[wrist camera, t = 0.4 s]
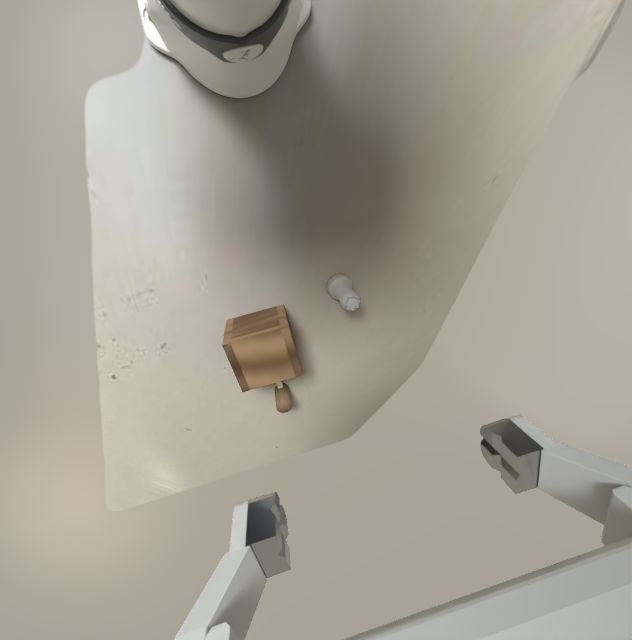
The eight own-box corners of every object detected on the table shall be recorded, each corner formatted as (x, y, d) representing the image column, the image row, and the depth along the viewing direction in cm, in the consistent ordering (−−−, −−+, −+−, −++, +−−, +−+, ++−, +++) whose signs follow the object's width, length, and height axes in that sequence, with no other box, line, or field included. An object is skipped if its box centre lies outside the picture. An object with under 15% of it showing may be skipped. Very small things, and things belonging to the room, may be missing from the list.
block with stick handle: (246, 329, 51) (245, 344, 47) (273, 321, 51) (275, 335, 47) (271, 397, 59) (273, 416, 55) (295, 390, 59) (298, 408, 55)
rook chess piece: (350, 296, 52) (365, 316, 45) (325, 298, 51) (337, 318, 44) (351, 272, 50) (367, 288, 43) (326, 273, 49) (338, 291, 42)
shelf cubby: (226, 319, 50) (222, 345, 42) (283, 304, 50) (288, 327, 43) (244, 362, 54) (242, 392, 47) (295, 348, 55) (302, 374, 48)
